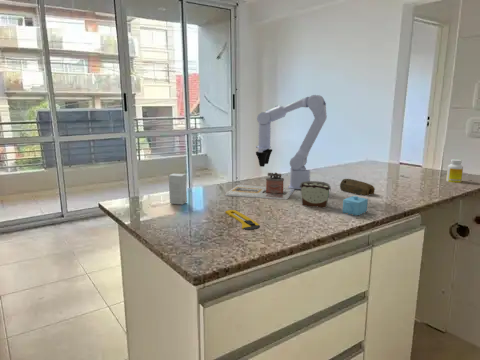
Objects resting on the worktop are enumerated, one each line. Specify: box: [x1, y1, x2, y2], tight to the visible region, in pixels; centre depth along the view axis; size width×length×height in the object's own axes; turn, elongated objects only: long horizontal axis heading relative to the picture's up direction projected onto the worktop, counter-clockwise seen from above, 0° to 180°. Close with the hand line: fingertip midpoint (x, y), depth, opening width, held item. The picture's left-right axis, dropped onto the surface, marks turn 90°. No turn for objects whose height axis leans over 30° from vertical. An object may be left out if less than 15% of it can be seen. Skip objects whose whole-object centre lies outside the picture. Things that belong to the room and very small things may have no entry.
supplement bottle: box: [445, 158, 464, 183], centre depth 183 cm, size 7×7×13 cm
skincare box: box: [168, 173, 188, 206], centre depth 151 cm, size 6×4×12 cm
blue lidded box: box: [342, 195, 369, 216], centre depth 135 cm, size 12×6×8 cm, turn 136°
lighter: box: [265, 172, 285, 195], centre depth 165 cm, size 8×3×10 cm, turn 78°
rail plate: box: [224, 184, 296, 200], centre depth 168 cm, size 28×18×1 cm, turn 72°
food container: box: [299, 180, 332, 208], centre depth 146 cm, size 12×6×10 cm, turn 65°
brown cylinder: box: [339, 178, 376, 196], centre depth 165 cm, size 15×7×7 cm, turn 43°
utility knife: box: [224, 209, 261, 231], centre depth 130 cm, size 7×22×2 cm, turn 27°
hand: (264, 165), depth 181 cm, fingers open, 7 cm apart
